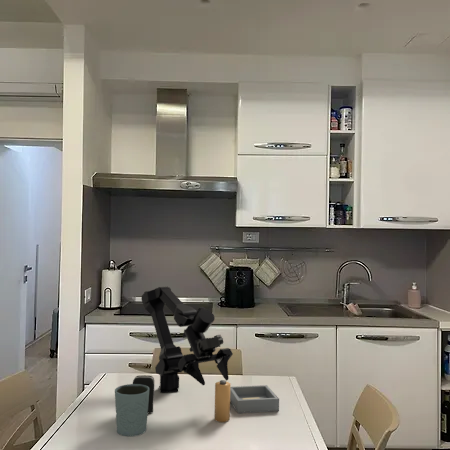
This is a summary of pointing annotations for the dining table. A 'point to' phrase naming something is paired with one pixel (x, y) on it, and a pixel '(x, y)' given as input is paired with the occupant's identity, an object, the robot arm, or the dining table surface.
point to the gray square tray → (253, 399)
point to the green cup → (131, 409)
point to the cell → (222, 401)
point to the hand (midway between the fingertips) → (216, 382)
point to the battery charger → (150, 383)
